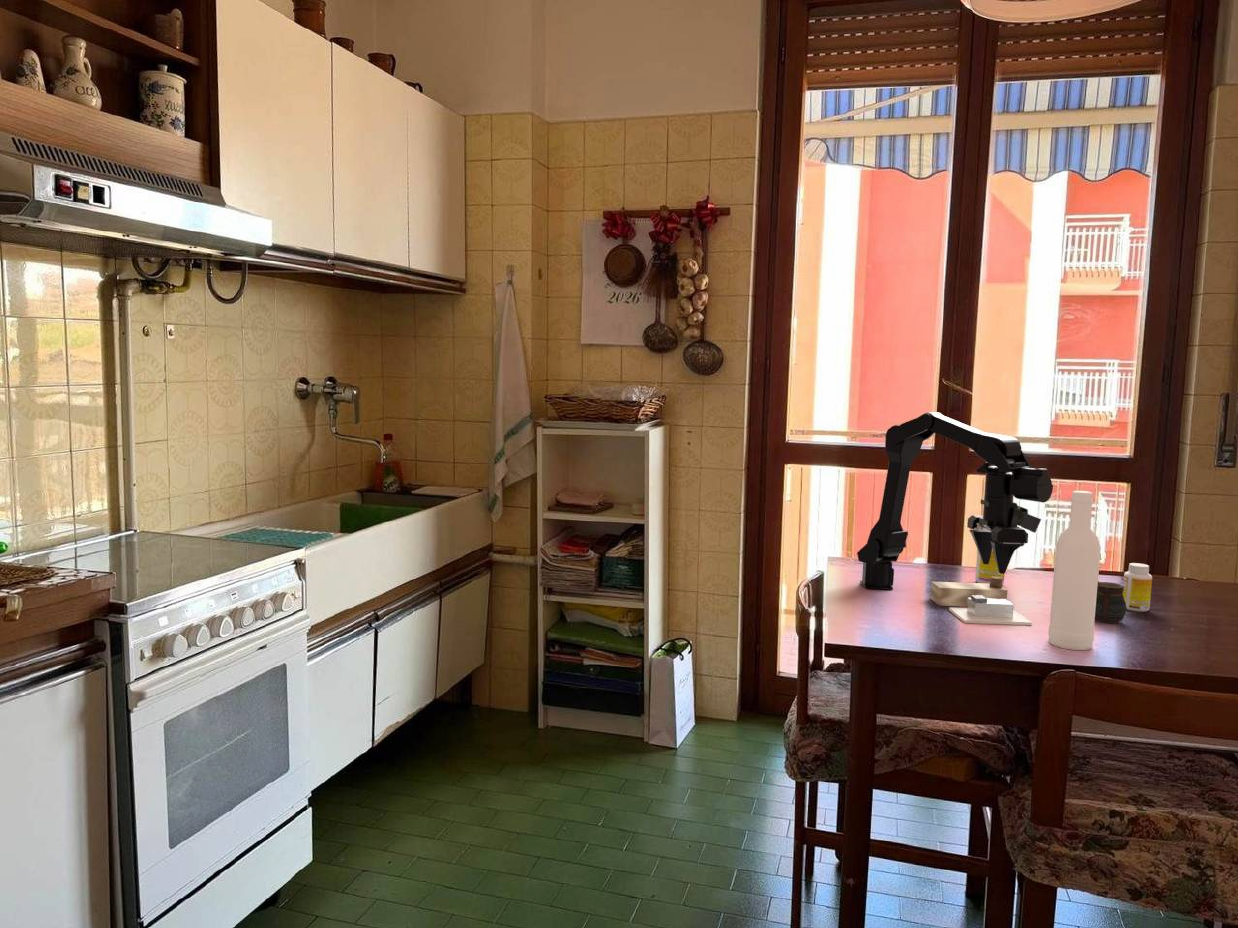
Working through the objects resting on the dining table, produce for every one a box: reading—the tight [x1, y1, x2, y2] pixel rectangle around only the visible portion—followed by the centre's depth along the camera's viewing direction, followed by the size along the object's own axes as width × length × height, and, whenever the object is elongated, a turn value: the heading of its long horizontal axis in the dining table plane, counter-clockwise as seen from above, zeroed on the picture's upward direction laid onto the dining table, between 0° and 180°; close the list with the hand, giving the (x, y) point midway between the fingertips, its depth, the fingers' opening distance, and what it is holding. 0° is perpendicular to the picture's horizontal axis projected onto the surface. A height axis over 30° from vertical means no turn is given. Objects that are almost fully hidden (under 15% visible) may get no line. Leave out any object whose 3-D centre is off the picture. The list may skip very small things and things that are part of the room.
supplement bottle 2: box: [1122, 562, 1153, 613], centre depth 208 cm, size 6×6×10 cm
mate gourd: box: [1095, 580, 1128, 624], centre depth 197 cm, size 7×8×10 cm
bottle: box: [1047, 490, 1102, 651], centre depth 178 cm, size 8×8×30 cm
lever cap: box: [966, 595, 1015, 618], centre depth 198 cm, size 8×5×4 cm, turn 88°
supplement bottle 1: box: [974, 548, 1006, 585], centre depth 230 cm, size 7×7×13 cm
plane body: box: [929, 577, 1008, 607], centre depth 209 cm, size 15×6×6 cm, turn 88°
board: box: [948, 607, 1033, 626], centre depth 198 cm, size 14×10×1 cm
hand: (993, 568), depth 196 cm, fingers open, 9 cm apart
